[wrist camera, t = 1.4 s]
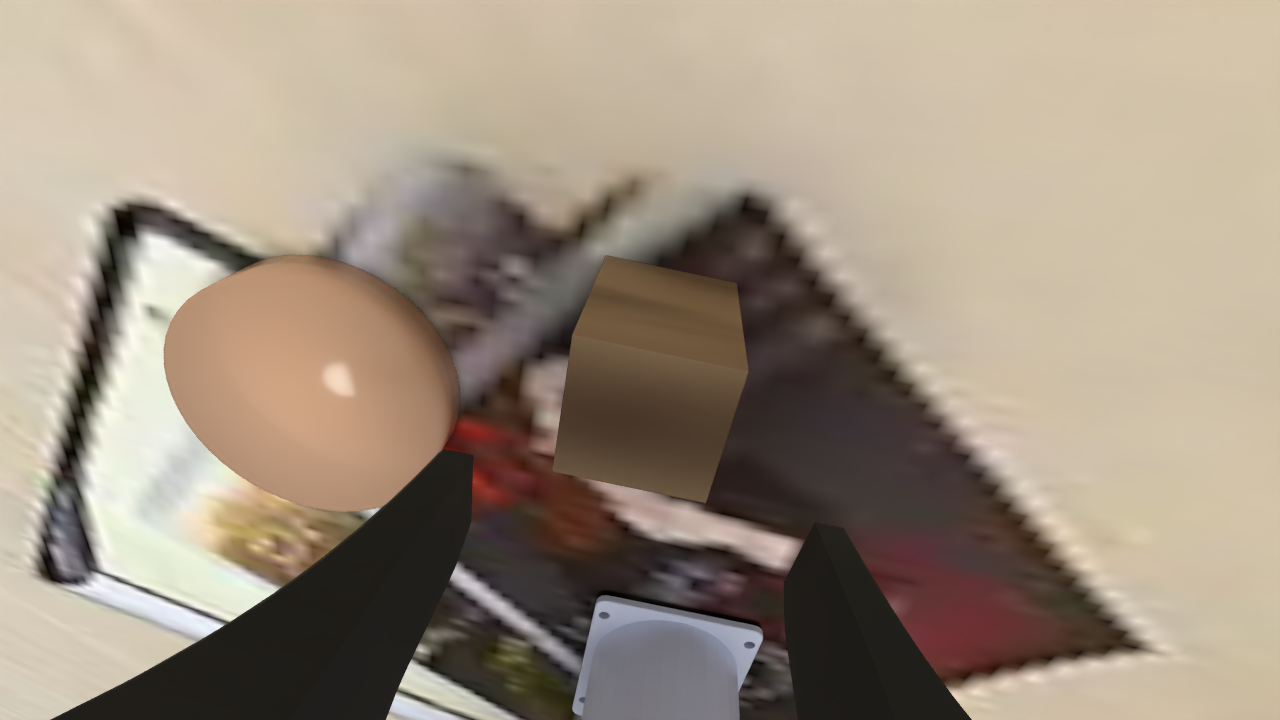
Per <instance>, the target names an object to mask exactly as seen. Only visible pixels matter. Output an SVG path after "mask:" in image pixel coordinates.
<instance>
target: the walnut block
mask: <svg viewBox="0 0 1280 720" xmlns="http://www.w3.org/2000/svg"><path fill="white" fill-rule="evenodd" d="M748 372H749V371H748V364H747V356H746V349H745V341H744V334H743V327H742V319H741V312H740V305H739V297H738V290H737V283H734V282H729V281H725V280H720V279H715V278H710V277H706V276H701V275H696V274H692V273H687V272H682V271H677V270H673V269H668V268H663V267H658V266H654V265H649V264H644V263H640V262H635V261H630V260H625V259H621V258H616V257H611V256H606V257H605V259H604V262H603V264H602V266H601V269H600V271H599V273H598V276H597V278H596V280H595V283H594V285H593V287H592V290H591V292H590V294H589V297H588V299H587V302H586V304H585V306H584V309H583V311H582V313H581V316H580V318H579V320H578V323H577V325H576V327H575V330H574V332H573V334H572V341H571V348H570V354H569V361H568V368H567V375H566V382H565V389H564V395H563V402H562V409H561V416H560V423H559V429H558V436H557V443H556V450H555V457H554V464H553V470H552V471H553V472H557V473H562V474H567V475H572V476H577V477H582V478H586V479H591V480H596V481H601V482H606V483H611V484H615V485H620V486H625V487H630V488H635V489H640V490H644V491H649V492H654V493H659V494H664V495H669V496H673V497H678V498H683V499H688V500H693V501H698V502H702V503H706V501H707V498H708V495H709V492H710V489H711V485H712V482H713V479H714V476H715V473H716V470H717V467H718V464H719V461H720V458H721V455H722V452H723V449H724V446H725V442H726V439H727V436H728V433H729V430H730V427H731V424H732V421H733V418H734V415H735V412H736V409H737V406H738V403H739V400H740V396H741V393H742V390H743V387H744V384H745V381H746V378H747V375H748Z"/></svg>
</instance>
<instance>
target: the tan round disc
mask: <svg viewBox="0 0 1280 720" xmlns="http://www.w3.org/2000/svg"><path fill="white" fill-rule="evenodd" d="M164 368H165V373H166V379H167V382H168V385H169V389H170V392H171V395H172V397H173V399H174V401H175V403H176V406H177V408H178V410H179V411H180V413H181V415H182V416H183V418H184V420H185V421H186V423H187V424H188V426H189V427H190V428H191V430H192V431H193V432H194V434H195V435H196V436H197V438H198V439H199V440H200V441H201V442H202V443H203V444H204V445H205V446H206V448H207V449H208V450H209V451H210V452H211V453H212V454H214V455H215V456H216V457H217V458H218V459H219V460H220V461H221V462H222V463H224V464H225V465H226V466H227V467H229V468H230V469H231V470H233V471H234V472H235V473H236V474H238V475H239V476H241V477H243V478H244V479H246V480H247V481H249V482H250V483H252V484H254V485H256V486H257V487H259V488H261V489H263V490H265V491H267V492H269V493H271V494H273V495H276V496H278V497H280V498H282V499H285V500H288V501H291V502H294V503H297V504H300V505H304V506H308V507H312V508H317V509H323V510H330V511H363V510H369V509H375V508H378V507H382V506H384V505H385V504H387V503H388V502H389V501H390V500H391V499H392V498H393V497H394V496H395V495H396V494H397V493H398V492H400V491H401V490H402V489H403V488H404V487H405V486H406V485H407V484H408V483H409V482H410V481H411V480H412V479H413V478H414V477H415V476H416V475H417V474H418V473H419V472H420V471H421V470H422V469H423V468H424V467H425V466H426V465H427V464H428V463H429V462H430V461H431V460H432V459H433V458H434V457H435V456H436V455H437V454H438V453H439V452H440V451H442V449H443V448H444V446H445V445H446V443H447V441H448V440H449V438H450V436H451V434H452V432H453V430H454V428H455V425H456V422H457V419H458V415H459V407H460V387H459V382H458V377H457V372H456V369H455V366H454V363H453V360H452V358H451V356H450V354H449V352H448V349H447V347H446V345H445V343H444V342H443V340H442V339H441V337H440V336H439V334H438V332H437V331H436V329H435V328H434V327H433V326H432V324H431V323H430V322H429V321H428V319H427V318H426V317H425V316H424V315H423V313H422V312H421V311H420V310H419V309H418V308H417V307H416V306H415V305H414V304H413V303H412V302H410V301H409V300H408V299H407V298H406V297H404V296H403V295H402V294H401V293H399V292H398V291H397V290H396V289H394V288H393V287H391V286H390V285H388V284H387V283H385V282H384V281H382V280H381V279H379V278H377V277H375V276H373V275H371V274H369V273H367V272H365V271H364V270H361V269H359V268H356V267H354V266H351V265H349V264H346V263H343V262H339V261H336V260H332V259H328V258H323V257H317V256H310V255H286V256H277V257H272V258H268V259H265V260H261V261H258V262H256V263H254V264H252V265H249V266H247V267H245V268H243V269H241V270H239V271H237V272H235V273H234V274H232V275H230V276H228V277H226V278H224V279H222V280H220V281H218V282H216V283H214V284H212V285H210V286H208V287H207V288H205V289H203V290H201V291H199V292H198V293H196V294H195V295H194V296H192V297H191V298H189V299H188V300H187V301H186V302H185V303H184V304H183V305H182V306H181V307H180V309H179V310H178V311H177V313H176V314H175V316H174V318H173V319H172V321H171V323H170V326H169V328H168V331H167V334H166V338H165V344H164Z"/></svg>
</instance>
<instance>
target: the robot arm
mask: <svg viewBox="0 0 1280 720" xmlns="http://www.w3.org/2000/svg"><path fill="white" fill-rule="evenodd" d="M472 478H473V455H470V454H465V453H460V452H455V451H450V450H445V449H444V450H442V451H440V452H439V453H438V454H437V455H436V456H435V457H434V458H433V459H432V460H431V461H430V462H429V463H428V464H427V465H426V466H425V467H424V468H423V469H422V470H421V471H420V472H419V473H418V474H417V475H416V476H415V477H414V478H413V479H412V480H411V481H410V482H409V483H408V484H407V485H406V486H405V487H404V488H403V489H402V490H401V491H400V492H398V493H397V494H396V495H395V496H394V497H393V498H392V499H391V500H390V501H389V502H388V503H387V504H385V505H384V506H383V507H382V508H381V509H380V510H379V511H378V512H376V513H375V514H374V515H373V516H372V517H371V518H370V519H369V520H368V521H366V522H365V523H364V524H363V525H362V526H361V527H360V528H358V529H357V530H356V531H355V532H353V533H352V534H351V535H350V536H349V537H347V538H346V539H345V540H344V541H342V542H341V543H340V544H339V545H338V546H336V547H335V548H334V549H333V550H331V551H330V552H329V553H328V554H326V555H325V556H324V557H323V558H321V559H320V560H319V561H317V562H316V563H315V564H314V565H312V566H311V567H310V568H308V569H307V570H306V571H304V572H303V573H302V574H300V575H299V576H297V577H296V578H295V579H293V580H292V581H290V582H289V583H288V584H286V585H285V586H283V587H282V588H281V589H279V590H278V591H276V592H275V593H273V594H272V595H271V596H269V597H268V598H266V599H265V600H263V601H261V602H260V603H258V604H257V605H255V606H254V607H252V608H251V609H249V610H248V611H246V612H245V613H243V614H242V615H240V616H239V617H237V618H235V619H234V620H232V621H231V622H229V623H228V624H226V625H224V626H223V627H221V628H220V629H218V630H216V631H215V632H213V633H211V634H210V635H208V636H206V637H205V638H203V639H201V640H200V641H198V642H196V643H194V644H193V645H191V646H189V647H187V648H185V649H184V650H182V651H180V652H178V653H177V654H175V655H173V656H171V657H170V658H168V659H166V660H164V661H163V662H161V663H159V664H157V665H156V666H154V667H152V668H150V669H149V670H147V671H145V672H143V673H141V674H140V675H138V676H136V677H134V678H132V679H130V680H128V681H126V682H125V683H123V684H121V685H119V686H117V687H115V688H113V689H111V690H109V691H107V692H105V693H103V694H101V695H99V696H97V697H95V698H93V699H91V700H89V701H87V702H85V703H83V704H81V705H79V706H77V707H75V708H73V709H71V710H69V711H67V712H65V713H63V714H61V715H59V716H57V717H55V718H53V719H51V720H386V718H387V715H388V713H389V710H390V707H391V705H392V702H393V699H394V697H395V694H396V692H397V690H398V687H399V685H400V683H401V680H402V678H403V676H404V673H405V671H406V669H407V667H408V665H409V663H410V661H411V659H412V657H413V655H414V652H415V650H416V648H417V646H418V644H419V642H420V640H421V638H422V636H423V634H424V632H425V630H426V628H427V625H428V623H429V621H430V619H431V617H432V615H433V613H434V611H435V609H436V607H437V605H438V603H439V601H440V598H441V596H442V594H443V592H444V590H445V588H446V586H447V584H448V582H449V580H450V577H451V575H452V573H453V571H454V569H455V566H456V564H457V561H458V558H459V555H460V552H461V550H462V547H463V544H464V541H465V538H466V535H467V532H468V529H469V526H470V523H471V508H472ZM784 616H785V634H786V642H787V649H788V656H789V663H790V670H791V676H792V683H793V689H794V696H795V702H796V709H797V716H798V720H972V719H971V718H970V717H969V716H968V715H967V713H966V712H965V711H964V710H963V708H962V707H961V706H960V705H959V703H958V702H957V701H956V699H955V698H954V697H953V696H952V694H951V693H950V692H949V690H948V689H947V688H946V686H945V685H944V684H943V682H942V681H941V680H940V678H939V677H938V675H937V674H936V673H935V671H934V670H933V668H932V667H931V666H930V664H929V663H928V661H927V660H926V659H925V657H924V656H923V654H922V653H921V652H920V650H919V649H918V647H917V646H916V644H915V643H914V641H913V640H912V638H911V637H910V635H909V634H908V632H907V631H906V629H905V627H904V626H903V624H902V623H901V621H900V620H899V618H898V617H897V615H896V614H895V612H894V610H893V609H892V607H891V606H890V604H889V603H888V601H887V599H886V598H885V596H884V595H883V593H882V591H881V590H880V588H879V586H878V585H877V583H876V582H875V580H874V578H873V577H872V575H871V573H870V572H869V570H868V568H867V567H866V565H865V563H864V562H863V560H862V558H861V557H860V555H859V553H858V552H857V550H856V548H855V547H854V545H853V543H852V542H851V540H850V538H849V537H848V535H847V533H846V532H845V530H844V529H843V528H840V527H835V526H830V525H825V524H820V523H814V525H813V527H812V529H811V531H810V533H809V535H808V537H807V539H806V540H805V542H804V544H803V546H802V548H801V550H800V552H799V554H798V556H797V558H796V560H795V562H794V564H793V566H792V568H791V570H790V572H789V574H788V575H787V577H786V579H785V581H784ZM762 640H763V632H762V630H761V628H759V627H758V626H755V625H751V624H746V623H741V622H736V621H731V620H726V619H722V618H717V617H712V616H707V615H702V614H697V613H692V612H687V611H683V610H678V609H673V608H668V607H663V606H658V605H653V604H648V603H644V602H639V601H634V600H629V599H624V598H619V597H614V596H609V595H603V596H600V597H598V599H597V601H596V605H595V609H594V614H593V618H592V623H591V627H590V631H589V636H588V640H587V645H586V649H585V653H584V658H583V662H582V667H581V671H580V675H579V680H578V684H577V689H576V693H575V697H574V702H573V707H572V710H573V711H574V713H575V714H577V715H580V716H582V719H581V720H740V715H739V696H738V692H739V690H740V688H741V686H742V684H743V681H744V679H745V677H746V675H747V673H748V671H749V668H750V666H751V664H752V662H753V660H754V658H755V655H756V653H757V651H758V649H759V647H760V645H761V642H762Z"/></svg>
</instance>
